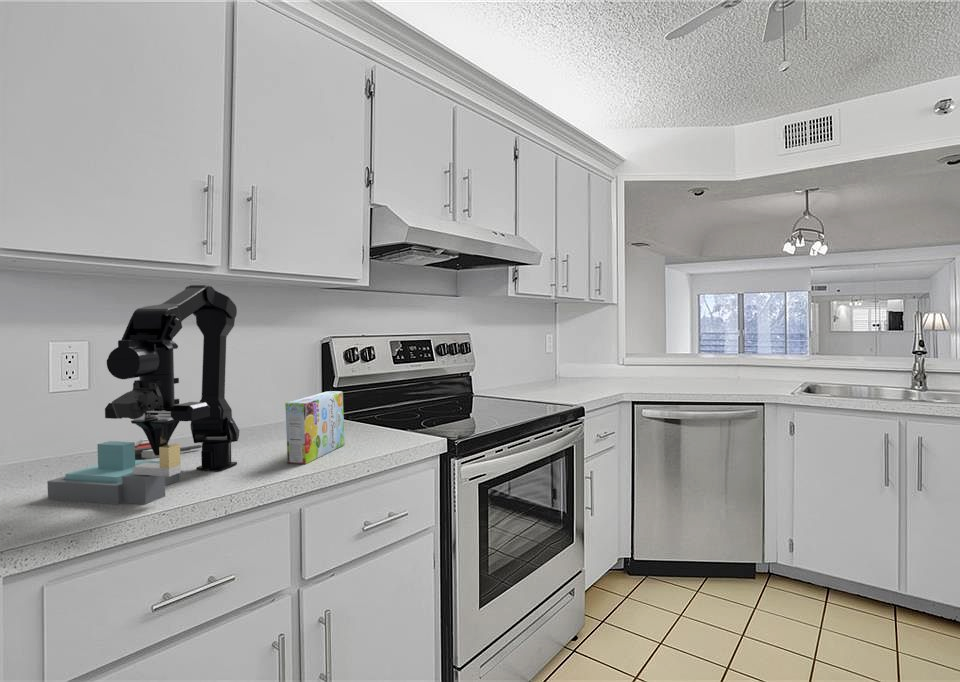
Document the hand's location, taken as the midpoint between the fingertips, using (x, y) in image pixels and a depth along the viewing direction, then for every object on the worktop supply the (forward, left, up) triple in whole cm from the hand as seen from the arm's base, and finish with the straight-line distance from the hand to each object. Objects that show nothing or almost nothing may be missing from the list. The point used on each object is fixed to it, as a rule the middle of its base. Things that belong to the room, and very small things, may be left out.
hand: (158, 455), depth 107 cm
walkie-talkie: (-32, -29, -9) cm, 44 cm away
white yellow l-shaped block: (0, -1, -4) cm, 4 cm away
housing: (-5, -12, -9) cm, 15 cm away
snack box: (-41, +12, -9) cm, 43 cm away
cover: (-5, -14, -7) cm, 16 cm away
